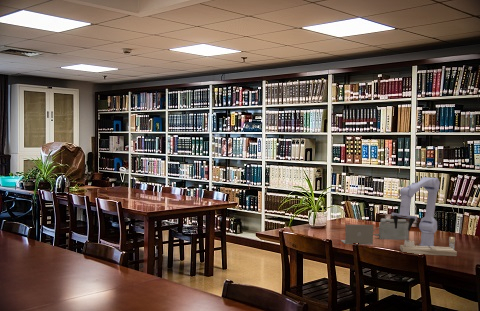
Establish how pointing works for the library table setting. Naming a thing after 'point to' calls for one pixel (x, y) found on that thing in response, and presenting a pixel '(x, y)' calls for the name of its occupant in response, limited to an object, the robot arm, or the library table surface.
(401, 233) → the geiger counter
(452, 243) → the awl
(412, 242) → the finder
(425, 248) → the board
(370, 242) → the laptop
